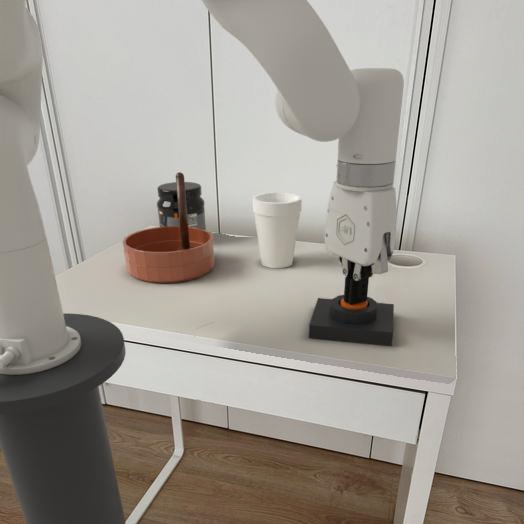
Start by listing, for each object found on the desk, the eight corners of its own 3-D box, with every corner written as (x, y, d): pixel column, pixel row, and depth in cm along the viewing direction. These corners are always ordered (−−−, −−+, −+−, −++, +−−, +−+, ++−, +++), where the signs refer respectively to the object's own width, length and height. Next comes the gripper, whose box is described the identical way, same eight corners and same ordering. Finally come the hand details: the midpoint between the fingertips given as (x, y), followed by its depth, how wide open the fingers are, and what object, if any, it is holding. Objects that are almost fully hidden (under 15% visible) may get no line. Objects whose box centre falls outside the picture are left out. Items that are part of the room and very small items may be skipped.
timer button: (366, 318, 76) (367, 308, 75) (338, 316, 77) (339, 305, 76) (367, 307, 80) (368, 297, 79) (341, 305, 80) (341, 295, 80)
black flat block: (391, 346, 74) (395, 321, 72) (308, 338, 77) (309, 313, 75) (392, 316, 83) (395, 293, 81) (317, 310, 85) (318, 287, 83)
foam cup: (281, 252, 111) (281, 190, 104) (309, 263, 104) (312, 198, 98) (244, 261, 106) (242, 196, 99) (272, 274, 99) (272, 206, 93)
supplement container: (175, 231, 125) (170, 179, 119) (214, 235, 122) (211, 182, 116) (151, 243, 116) (145, 189, 111) (193, 248, 113) (189, 192, 107)
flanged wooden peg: (186, 258, 103) (179, 174, 95) (173, 254, 105) (165, 172, 97) (199, 253, 106) (193, 171, 98) (186, 250, 108) (179, 169, 100)
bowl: (198, 287, 94) (196, 255, 91) (111, 280, 97) (106, 249, 94) (225, 256, 109) (223, 228, 106) (148, 251, 112) (145, 223, 109)
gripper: (308, 169, 72) (305, 290, 81) (384, 188, 61) (370, 326, 70) (349, 163, 76) (342, 280, 85) (428, 180, 65) (410, 313, 74)
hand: (355, 301), depth 78 cm, fingers closed
